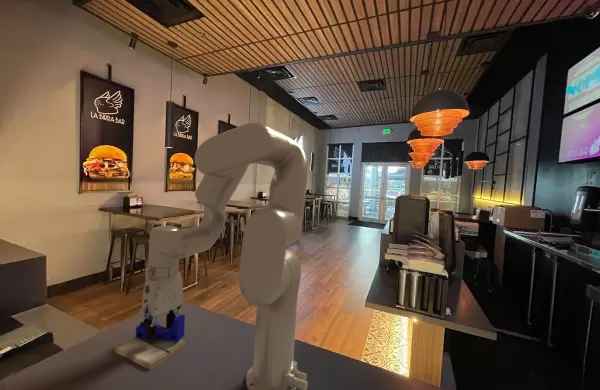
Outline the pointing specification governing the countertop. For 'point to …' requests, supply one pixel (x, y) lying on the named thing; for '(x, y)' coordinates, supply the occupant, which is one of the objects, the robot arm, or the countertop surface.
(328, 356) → the countertop surface
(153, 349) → the board
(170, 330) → the cable clip
